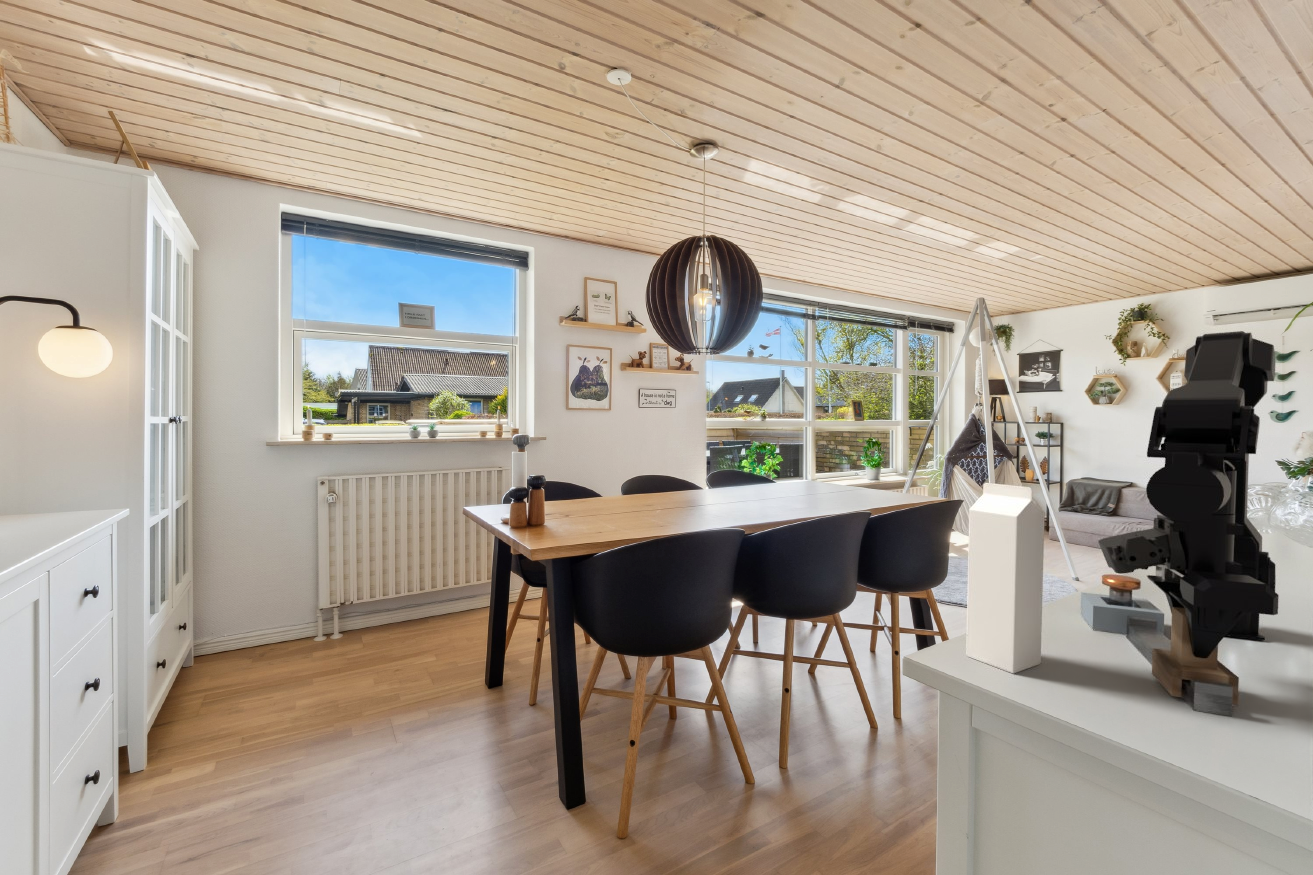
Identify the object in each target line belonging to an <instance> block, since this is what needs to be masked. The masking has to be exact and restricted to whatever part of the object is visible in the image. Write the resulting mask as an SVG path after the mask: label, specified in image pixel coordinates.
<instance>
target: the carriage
mask: <svg viewBox="0 0 1313 875" xmlns="http://www.w3.org/2000/svg"><path fill="white" fill-rule="evenodd" d="M1170 629H1171V630H1170V632H1171V633H1170V641H1171V651H1170V650H1162V649H1155V648H1153V649H1152V665H1151V675H1152V676H1153V677H1154V678H1155V679H1156V680H1157V681H1158V682H1159V683H1160V685H1161V686H1162V687H1163V688H1164V689H1165V690H1166V691H1167V692H1168V693H1169V695H1170V696H1171V697H1177V698H1182V697H1181V686H1182V679H1186V680H1191V678H1195V679H1201V680H1208V681H1215V682H1222V683H1228V684H1230V685H1231V686H1232V687H1233V699H1232V706H1234V707H1235V706H1236V707H1238V706H1239V687H1240V686H1239V685H1240V683H1239V682H1240V677H1239V676H1237V675H1236V674H1235V673H1234V672H1233V671H1231V670H1230V668H1227V667H1226V666H1225V665H1224V664H1223V663H1222V662H1220V660H1219V659H1218V658H1219V655H1218V653H1219V644H1218V645H1217V646H1216V648H1215V649H1214V650H1213V652H1212V653H1211V654H1210V655H1209V657H1208V658H1197V657H1195V656H1194V655H1193V653H1192V648H1191V643H1190V636H1189V630H1188V623H1187V617H1186V610H1185V608H1178V607H1172V613H1171V628H1170Z"/></svg>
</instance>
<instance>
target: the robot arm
mask: <svg viewBox="0 0 1313 875" xmlns="http://www.w3.org/2000/svg"><path fill="white" fill-rule="evenodd" d="M1275 351H1276V350H1275V346H1274V345H1273V344H1272V343H1268V342H1267V341H1262V340H1259V339H1256V338H1253V334H1252V332H1245V331H1243V330H1240V331H1226V332H1213V333H1212V332H1211V333H1204V334H1203V335H1199V336H1196V338H1195V344H1194V345H1192V346H1191V347H1189V348H1187V349H1186V350H1185V362H1184V373H1183V375H1184V378H1185V380H1186V383H1185V385H1181V386H1179V387H1176V388H1173V389H1171V390H1170V391H1167V394H1166V396H1165V397H1164V399H1163V401H1162V404H1161V406H1156V407H1155V409H1154V412H1153V413H1154V414H1153V418H1152V423H1151V427H1150V428H1151V429H1150V433H1149V434H1150V435H1149V440H1148V446H1147V449H1146V450H1147V451H1146V458H1153V459H1154V458H1157V459H1164V466H1163V467H1161V468H1160V469H1158V470H1157V471H1155V472H1154V473H1153V474H1152V476H1151V477H1149V480H1148V482H1147V484H1146V489H1145V492H1146V497H1147V500H1148V501H1149V504H1150V505H1151V507H1153V508H1154V510H1155V511H1156V512H1158V513H1159V514H1156V517H1154V518H1153V527H1152V528H1149V529H1143V530H1136V531H1131V532H1127V533H1122V534H1118V535H1117V534H1116V535H1112V536H1109V537H1103V538H1100V539H1099V540H1098V541H1097V543H1098V544H1099V547H1100V549H1101V552H1102V554H1103V556H1104V560H1105V561H1106V564H1107V567H1108V568H1111V569H1112V570H1113V571H1114V573H1116V574H1118V575H1121V574H1122V575H1123V574H1131V573H1134V572H1135V571H1136V570H1139V569H1140V570H1145V571H1146V570H1147V571H1148V569H1149V568H1152V567H1155V575H1153V574H1152V575H1149V574H1148V575H1146V577H1147V579H1148V580H1149V581H1150V582H1152V583H1153V584H1154V585H1155V586H1156V587H1158V588H1159V590H1161V591H1162V592H1163V593H1164V594H1165V597H1166V600H1167V602H1168V603H1167V604H1168V606H1169V609H1170V613H1171V614H1172V607H1178V608H1185V610H1186V617H1187V623H1188V630H1189V636H1190V643H1191V648H1192V653H1193V655H1194V656H1195V657H1197V658H1208V657H1209V655H1210V654H1211V653H1212V652H1213V650H1214V649H1215V648H1216V646H1217V645H1218V646H1219V644H1220V642H1221V641H1222V640H1223V639H1224V638H1225V637H1232V638H1233V637H1234V638H1238V639H1246V640H1247V639H1249V640H1256V641H1257V640H1258V641H1266V636H1265V635H1263V634H1261V633H1260V632H1259V631H1260V628H1259V627H1260V615H1269V616H1275V615H1278V614H1279V594H1278V593H1277V592H1276V581H1277V580H1276V563H1275V562H1274V561H1272V560H1271V557H1270V556H1269V555H1270V554H1269V552H1268V551H1263V536H1262V534H1261V532H1260V531H1258V530H1257V528H1256V527H1255V525H1253V523H1252V522H1251V521H1250V520H1249V518H1248V496H1249V495H1248V492H1249V463H1250V462H1249V460H1250V456H1249V455H1257V448H1258V441H1259V440H1258V439H1259V433H1260V422H1261V420H1260V416H1258V415H1257V414H1256V413H1255V407H1256V406H1257V405H1258V404H1259V403H1260V401H1261V400H1262V399H1263V398H1264V397H1265V395H1266V394H1267V393H1268V383H1269V382H1274V381H1275V377H1276V353H1275ZM1163 438H1164V440H1163ZM1162 441H1163V442H1162Z"/></svg>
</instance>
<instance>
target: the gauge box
mask: <svg viewBox="0 0 1313 875" xmlns="http://www.w3.org/2000/svg"><path fill="white" fill-rule="evenodd" d="M1080 614H1081V615H1082V616H1081V615H1080V616H1081V617H1082V618H1084V619H1085V620H1084V619H1083V620H1084V621H1085V623H1086V624H1087V623H1088V624H1089V625H1090V626H1089V625H1088V624H1087V625H1088V626H1089V627H1090V628H1092V629H1093V630H1092V629H1091V630H1092V631H1097V630H1101V631H1100V632H1105V631H1107V632H1106V633H1113V632H1116V633H1115V634H1121V633H1122V635H1126V632H1127V616H1132V617H1141V618H1149V619H1155V620H1156V621H1157V629H1158V630H1159V631H1160V632H1161V633H1162V634H1163V635H1164V636H1165V613H1164V612H1163V611H1162V610H1161V609H1159V608H1158V607H1157V606H1155V605H1154V604H1153V603H1152V602H1151V601H1150V600H1149V599H1147V598H1141V597H1140V598H1139V597H1132V607H1125V606H1116V605H1109V594H1101V593H1092V592H1091V593H1090V592H1082V591H1081V593H1080ZM1094 629H1095V630H1094Z"/></svg>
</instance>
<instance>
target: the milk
mask: <svg viewBox="0 0 1313 875" xmlns="http://www.w3.org/2000/svg"><path fill="white" fill-rule="evenodd" d="M982 487H983V489H982V491H983V492H982V495H981V496H980V497H979V498H978V499H977V500H976V501H975V502H974V504H973V505H971V506H970V508H969V509H968V547H967V549H968V550H967V551H968V552H967V557H968V558H967V599H966V601H967V602H966V640H965V641H966V642H965V643H966V646H965V647H966V648H965V651H966V652H965V656H966V657H968V658H971V659H974V660H977V661H978V662H981V663H984V664H986V665H990V666H991V667H994V668H997V669H1000V670H1003V671H1004V672H1006V673H1007V672H1008V673H1010V674H1012V675H1013V674H1016V673H1019V672H1022V671H1024V670H1027V669H1030V668H1032V667H1035V666H1038V665H1040V664H1041V663H1042V661H1041V660H1042V626H1043V625H1042V624H1043V622H1042V621H1043V591H1044V590H1043V589H1044V588H1043V587H1044V586H1043V585H1044V583H1043V582H1044V557H1045V556H1044V555H1045V554H1044V550H1045V549H1044V548H1045V516H1046V514H1045V513H1046V512H1045V511H1044V510H1043V509H1042V508H1041V507H1040V506H1039V505H1038V504H1037V503H1036V502H1034V500H1033V489H1032V488H1031V487H1029V486H1020V485H1012V484H1002V483H1001V484H1000V483H993V482H992V483H991V482H984V483H983V486H982ZM967 635H968V636H967Z"/></svg>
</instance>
